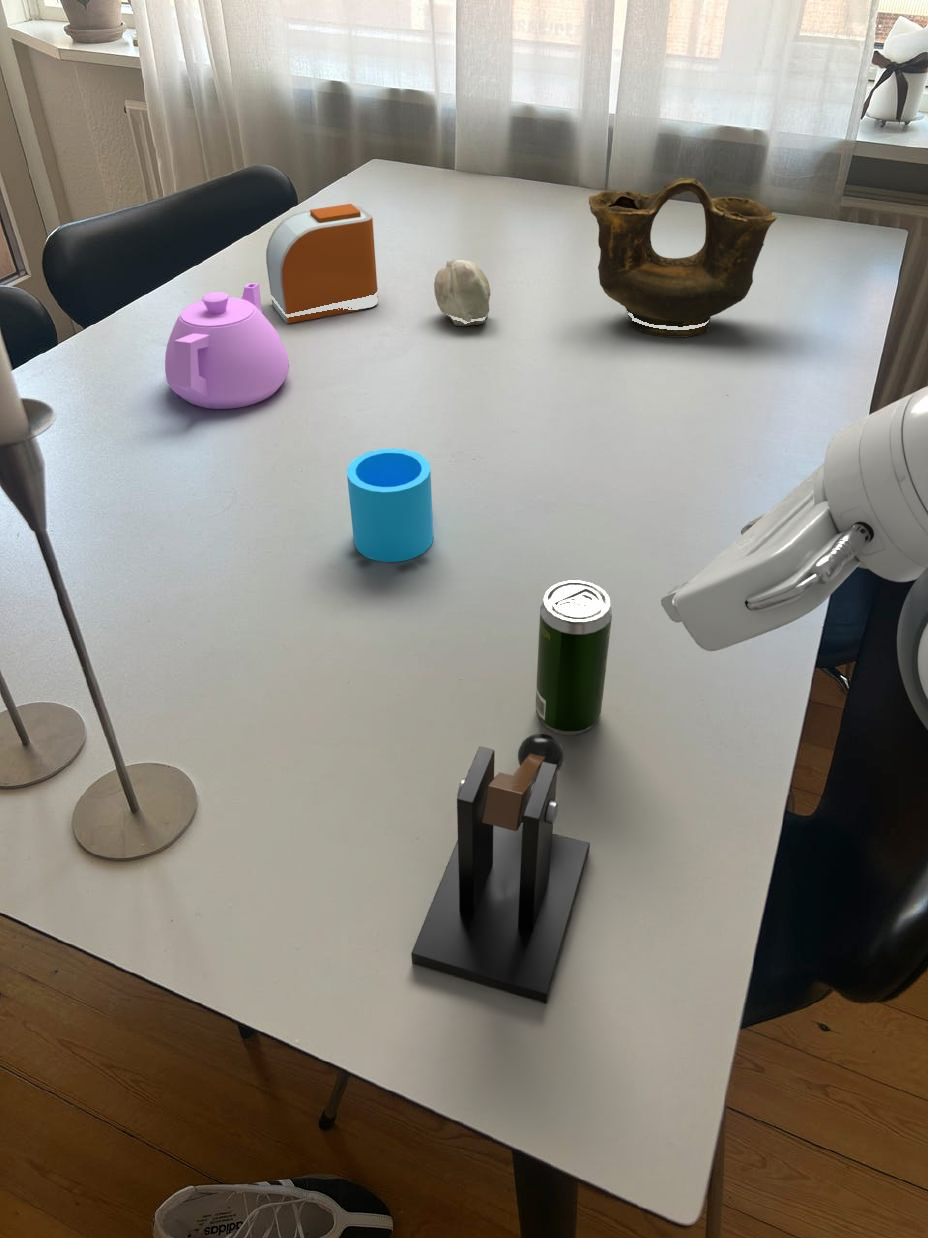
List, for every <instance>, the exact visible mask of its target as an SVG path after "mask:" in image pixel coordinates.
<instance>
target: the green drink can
mask: <svg viewBox="0 0 928 1238" xmlns="http://www.w3.org/2000/svg"><path fill="white" fill-rule="evenodd" d="M612 619H613V613H612V607H611V599H610V597H609V595H608V594H607V592H606V591H605V590H604V589H603V588H601V587H600V586H598V585H596V584H594V583H591V582H588V581H583V580H566V581H562V582H558V583H555V584H554V585H551V587H549V589H547V590H546V591H545V594H544V596H543V601H542V603H541V605H540V607H539V622H538V623H539V624H538V625H539V626H538V642H537V643H538V645H537V647H538V648H537V665H536V682H535V683H536V684H535V685H536V686H535V703H534V705H535V713H536V715H537V716H538V718H539V720H540V722H541V724H542V725H543V726H544V727H545V728H546V729H547V730H549V731H552V732H553V733H555V734H558V735H563V736H576V735H581V734H584V733H586V732H588V731H589V730H591V729H592V727H593V726H594V725H595V724H596V722H597V721H598V720H599V719H600V716H601V713H602V709H603V708H602V707H603V699H604V690H605V680H606V673H607V663H608V656H609V655H608V654H609V645H610V636H611V635H610V634H611V629H612V628H611V627H612V621H613V620H612Z"/></svg>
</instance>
